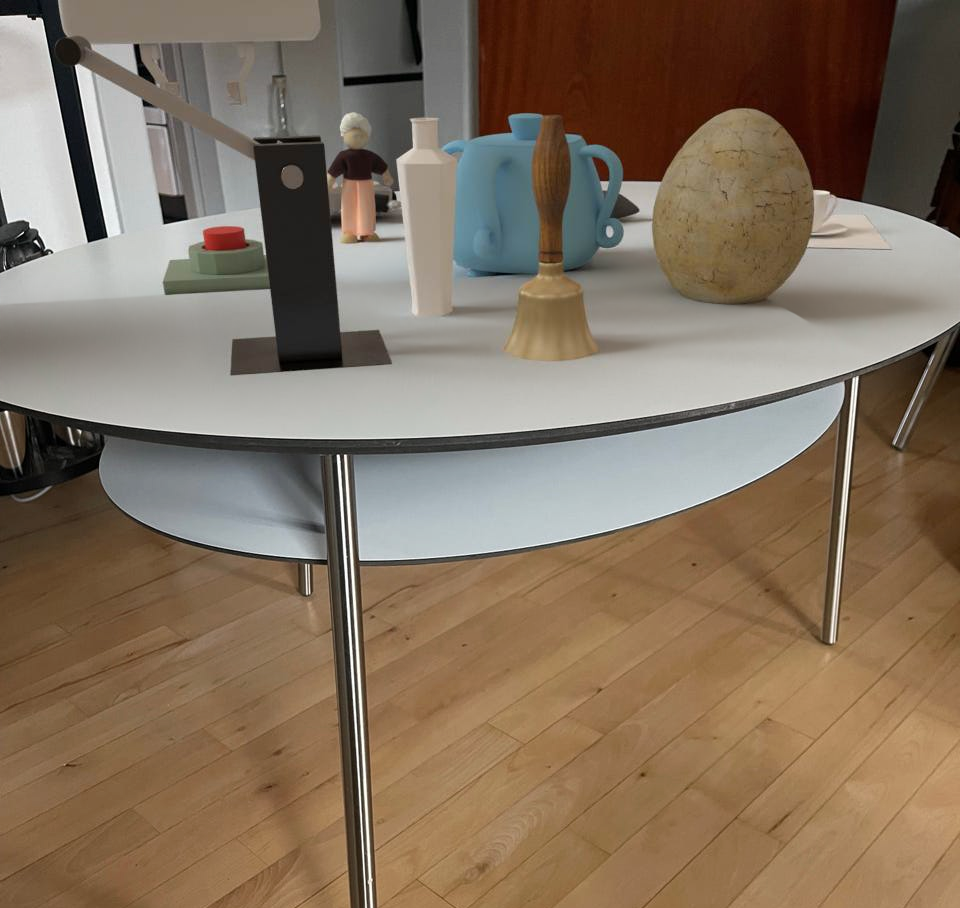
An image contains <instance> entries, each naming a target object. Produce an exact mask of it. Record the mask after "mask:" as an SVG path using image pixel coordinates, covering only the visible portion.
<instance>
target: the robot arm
mask: <svg viewBox="0 0 960 908" xmlns="http://www.w3.org/2000/svg"><path fill="white" fill-rule="evenodd" d="M57 2H58V3H57V4H58V10H59V16H60V17H59V18H60V21H61V27H62V30H63V33H64V34H65V35H66V37H72V36H82V37H84V38H85V39H87V40H88V42H89V43H90V45H91V46H95V45H98V46H99V45H100V46H101V45H139V54H140V58H141V62H142V63H143V65H144V66H145V67H146V70H148V72H149V73H150V75H151V76H152V78H153V79H154V80H155V82H156V84H158V85H159V87H160V88H161V89H163V90H165V91H167V92H168V93H170V94H172V95H174V96H176V97H177V98H179V99H181V100H183V98H182V96H181V95H180V93H181V86H180V82H170V81H169V80H168V78H167V77H166V75H165V74H164V73H163V71H162V70H161V68H160V66H159V65H158V63H157V62H156V61H158V60H160V59H161V57H162V56H161V49H160V44H192V43H193V44H195V43H196V44H198V43H199V44H200V43H203V44H204V43H235V44H236V52H237V57H238V58H239V59H244V61H243V62H242V63H243V64H242V66H241V67H240V71H239V72H238V77H237V79H236V80H227V81H226V86H227V92H228V94H229V95H228V103H229V107H243V106H244V107H245V106H246V107H247V106H248V97H247V88H246V82H247V81H248V79H249V75H250V73H251V70H252V67H253V65H254V62H255V59H256V51H255V42H292V41H293V42H299V41H303V42H304V41H314V40H315V38H316V37H317V36H318V35H319V33H320V32H321V30H322V22H321V13H320V6H319V5H320V4H319V0H57Z"/></svg>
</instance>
